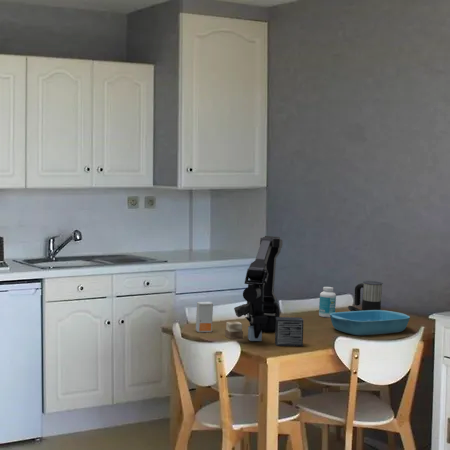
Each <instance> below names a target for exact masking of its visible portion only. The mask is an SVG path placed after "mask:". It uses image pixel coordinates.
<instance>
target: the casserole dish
mask: <svg viewBox="0 0 450 450" xmlns="http://www.w3.org/2000/svg"><path fill="white" fill-rule="evenodd" d="M330 317H331V318H330V322H331V325H332V326H333V328H334V329H335V330H336V331H340V332H341V333H344V334H345V333H346V334H349V335H353V336H375V335H385V334H386V335H387V334H395V333H396V334H397V333H401V332H403V331H405V330H406V328H407V326H408V324H409V322H410V319H411V317H410V315H407V314H406V313H403V312H398V311H391V310H382V309H381V310H365V311H350V310H348V311H337V312H336V311H335V313H330Z"/></svg>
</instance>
